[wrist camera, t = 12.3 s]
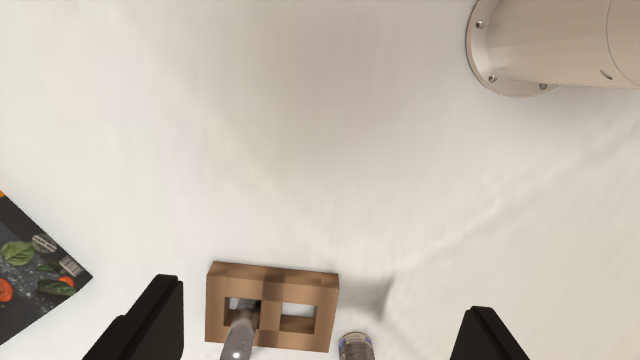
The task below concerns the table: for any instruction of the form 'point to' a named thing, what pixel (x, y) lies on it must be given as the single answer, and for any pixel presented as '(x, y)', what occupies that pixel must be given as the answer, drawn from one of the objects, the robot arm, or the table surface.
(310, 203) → the table surface
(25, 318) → the pizza box
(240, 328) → the peg
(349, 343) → the pill bottle
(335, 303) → the hole block
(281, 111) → the table surface
